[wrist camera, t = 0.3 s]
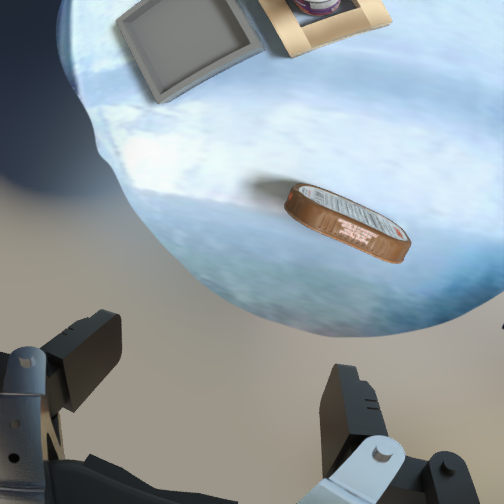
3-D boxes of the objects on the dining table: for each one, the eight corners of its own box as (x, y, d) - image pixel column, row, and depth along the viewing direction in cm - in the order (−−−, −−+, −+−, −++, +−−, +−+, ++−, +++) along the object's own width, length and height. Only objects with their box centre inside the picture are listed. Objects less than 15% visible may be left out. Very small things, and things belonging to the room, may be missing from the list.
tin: (287, 195, 38) (277, 222, 31) (296, 172, 37) (288, 194, 29) (394, 242, 38) (407, 277, 31) (406, 221, 36) (422, 254, 29)
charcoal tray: (128, 23, 31) (115, 20, 28) (216, -34, 25) (207, -41, 23) (169, 102, 35) (157, 103, 33) (266, 50, 30) (261, 46, 28)
